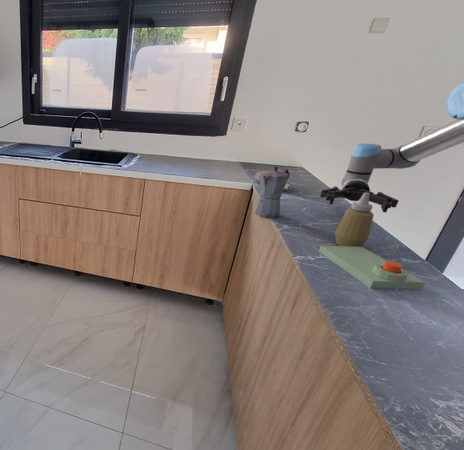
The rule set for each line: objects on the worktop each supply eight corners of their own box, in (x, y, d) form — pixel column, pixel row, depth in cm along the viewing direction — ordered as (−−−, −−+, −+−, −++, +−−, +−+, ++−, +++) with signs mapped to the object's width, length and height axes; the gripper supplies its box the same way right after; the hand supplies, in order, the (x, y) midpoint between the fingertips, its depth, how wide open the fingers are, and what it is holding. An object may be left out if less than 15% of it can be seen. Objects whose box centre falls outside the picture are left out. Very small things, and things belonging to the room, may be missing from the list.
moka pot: (244, 213, 130) (254, 166, 122) (266, 207, 136) (277, 162, 129) (266, 221, 122) (279, 171, 114) (289, 214, 129) (302, 166, 121)
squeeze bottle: (361, 253, 97) (383, 198, 90) (329, 245, 102) (347, 193, 95) (365, 245, 102) (386, 192, 95) (334, 238, 107) (351, 187, 100)
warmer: (359, 252, 97) (363, 241, 96) (421, 289, 79) (428, 276, 77) (318, 252, 98) (322, 240, 97) (370, 288, 80) (376, 275, 78)
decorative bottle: (252, 181, 175) (255, 170, 173) (266, 181, 175) (269, 169, 172) (282, 195, 151) (285, 182, 149) (297, 195, 151) (301, 181, 149)
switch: (391, 267, 82) (394, 261, 81) (402, 274, 79) (406, 267, 78) (378, 267, 82) (381, 260, 82) (389, 273, 79) (392, 266, 79)
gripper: (397, 204, 113) (406, 223, 98) (312, 193, 128) (308, 207, 113) (405, 184, 110) (416, 200, 95) (317, 175, 125) (314, 187, 110)
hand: (358, 204), depth 104 cm, fingers open, 13 cm apart
